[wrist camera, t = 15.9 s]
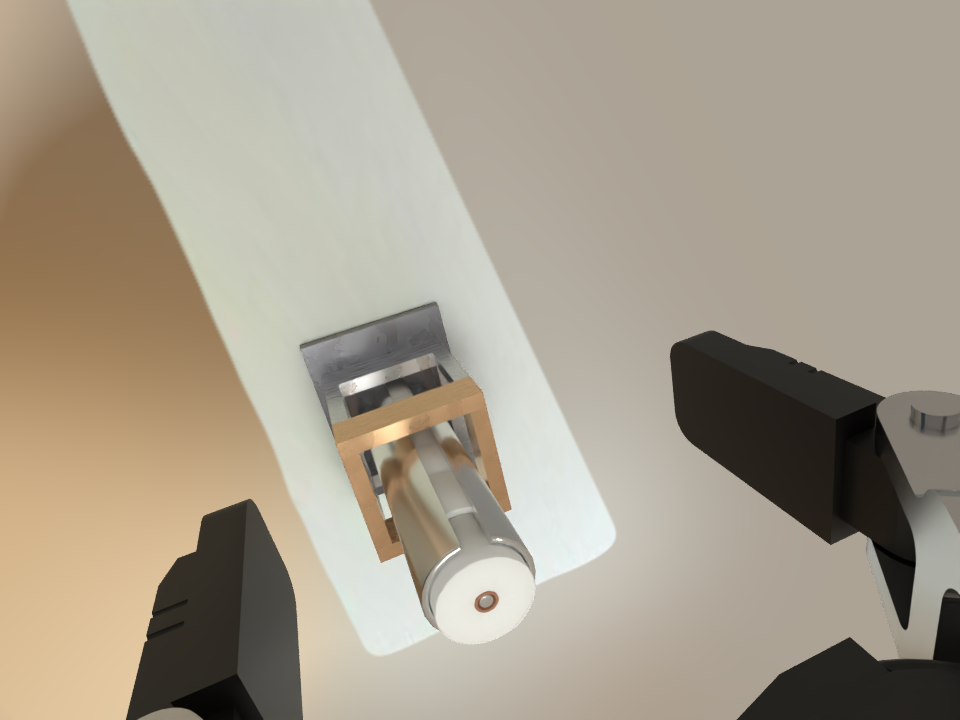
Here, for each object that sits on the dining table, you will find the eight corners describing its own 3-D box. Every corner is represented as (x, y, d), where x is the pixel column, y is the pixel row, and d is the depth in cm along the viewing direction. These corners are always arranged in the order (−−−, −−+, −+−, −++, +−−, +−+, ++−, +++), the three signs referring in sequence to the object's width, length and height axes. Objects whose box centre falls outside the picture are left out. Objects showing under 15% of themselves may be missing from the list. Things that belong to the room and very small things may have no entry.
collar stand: (299, 345, 49) (309, 412, 37) (434, 302, 52) (484, 351, 40) (357, 496, 56) (381, 595, 44) (474, 452, 58) (527, 533, 46)
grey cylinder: (441, 384, 54) (563, 560, 31) (414, 446, 55) (512, 657, 33) (375, 363, 51) (457, 538, 29) (347, 428, 52) (405, 645, 30)
